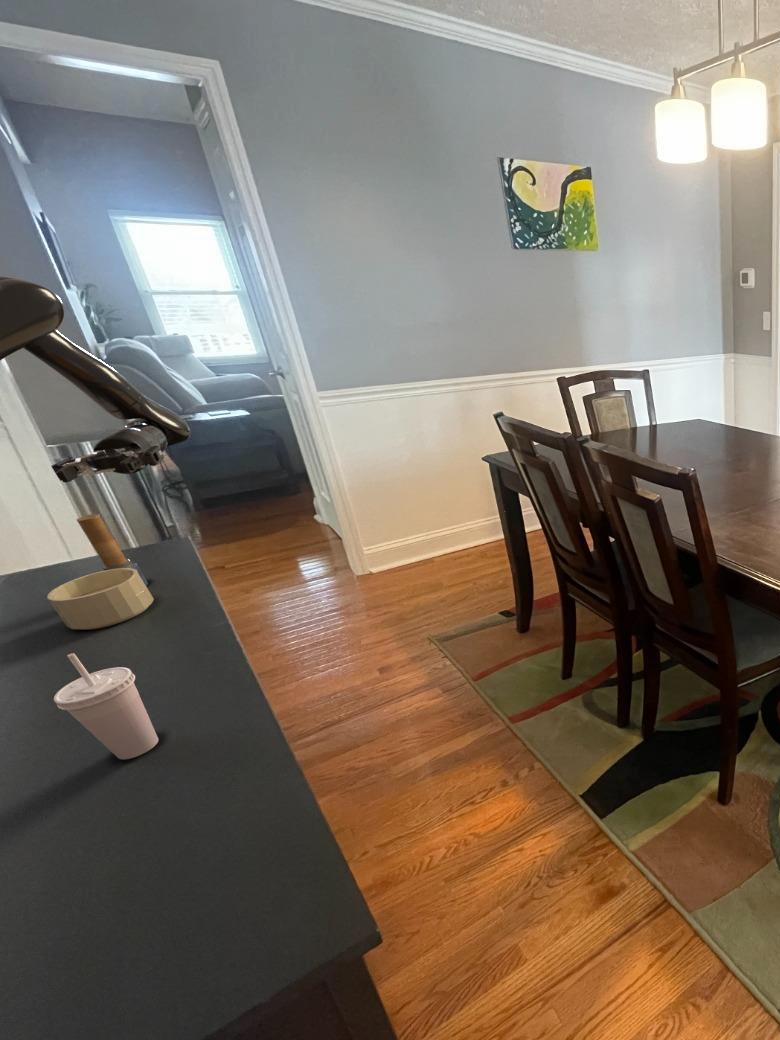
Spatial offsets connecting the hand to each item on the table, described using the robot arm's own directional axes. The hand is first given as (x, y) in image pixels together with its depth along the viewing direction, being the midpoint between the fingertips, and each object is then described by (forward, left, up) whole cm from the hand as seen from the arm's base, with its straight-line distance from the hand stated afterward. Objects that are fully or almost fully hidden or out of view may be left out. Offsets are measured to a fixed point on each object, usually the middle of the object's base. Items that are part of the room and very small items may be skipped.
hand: (94, 472), depth 107 cm
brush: (+3, -9, -19) cm, 21 cm away
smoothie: (+32, -57, -19) cm, 69 cm away
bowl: (+6, -19, -19) cm, 28 cm away
